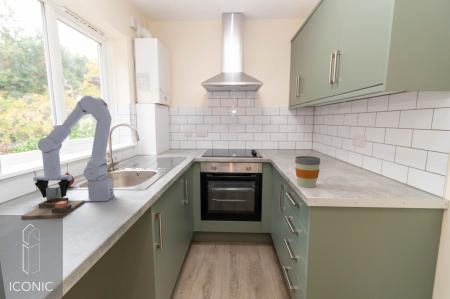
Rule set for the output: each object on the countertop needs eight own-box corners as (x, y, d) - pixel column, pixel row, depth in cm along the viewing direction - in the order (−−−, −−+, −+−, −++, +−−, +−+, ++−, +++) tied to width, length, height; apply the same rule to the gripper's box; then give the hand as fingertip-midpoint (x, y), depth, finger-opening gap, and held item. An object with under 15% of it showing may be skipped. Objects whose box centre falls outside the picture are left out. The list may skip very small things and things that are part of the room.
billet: (62, 198, 100) (61, 185, 100) (57, 201, 96) (55, 187, 96) (53, 198, 100) (52, 185, 99) (47, 201, 96) (45, 188, 95)
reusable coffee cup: (289, 183, 124) (290, 156, 122) (306, 181, 129) (307, 155, 128) (306, 190, 113) (307, 160, 111) (324, 187, 118) (326, 158, 116)
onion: (59, 189, 114) (57, 173, 113) (64, 186, 120) (62, 171, 119) (72, 188, 116) (71, 172, 115) (76, 185, 121) (75, 170, 120)
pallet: (84, 202, 95) (84, 196, 95) (62, 217, 80) (61, 210, 80) (50, 203, 94) (50, 197, 94) (21, 218, 79) (20, 211, 79)
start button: (67, 205, 85) (67, 201, 85) (63, 208, 83) (62, 203, 82) (60, 206, 85) (59, 201, 85) (55, 208, 82) (55, 203, 82)
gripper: (75, 163, 101) (77, 193, 103) (40, 164, 100) (43, 194, 101) (65, 167, 94) (68, 198, 96) (28, 167, 93) (31, 199, 94)
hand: (54, 196), depth 98 cm, fingers open, 7 cm apart
